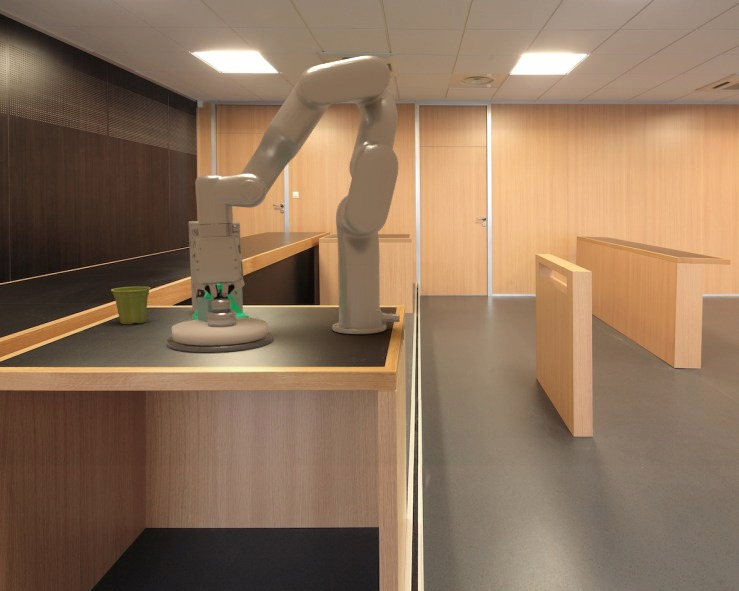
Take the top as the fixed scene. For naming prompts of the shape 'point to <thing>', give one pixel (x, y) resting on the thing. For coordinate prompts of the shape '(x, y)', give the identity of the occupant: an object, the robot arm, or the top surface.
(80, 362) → the top surface
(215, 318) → the cover
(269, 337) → the turntable base
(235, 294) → the cereal box
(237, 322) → the turntable
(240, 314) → the camera mount
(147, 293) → the plant pot
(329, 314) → the top surface
